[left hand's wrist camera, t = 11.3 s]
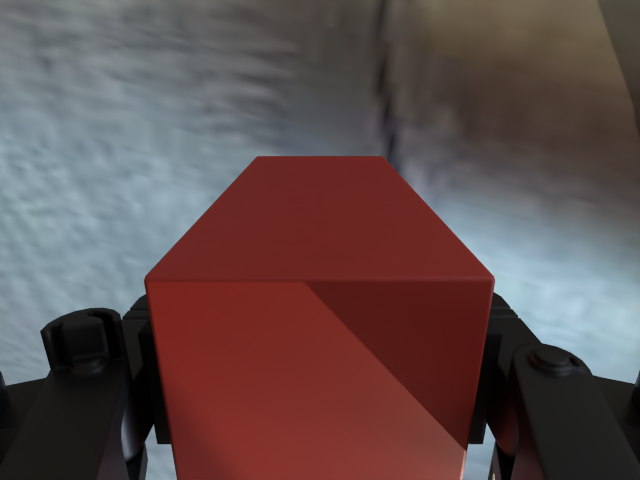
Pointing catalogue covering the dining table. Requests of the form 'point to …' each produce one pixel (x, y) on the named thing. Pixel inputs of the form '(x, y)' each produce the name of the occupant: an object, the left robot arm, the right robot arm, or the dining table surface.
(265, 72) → the dining table surface
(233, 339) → the brick
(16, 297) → the dining table surface
